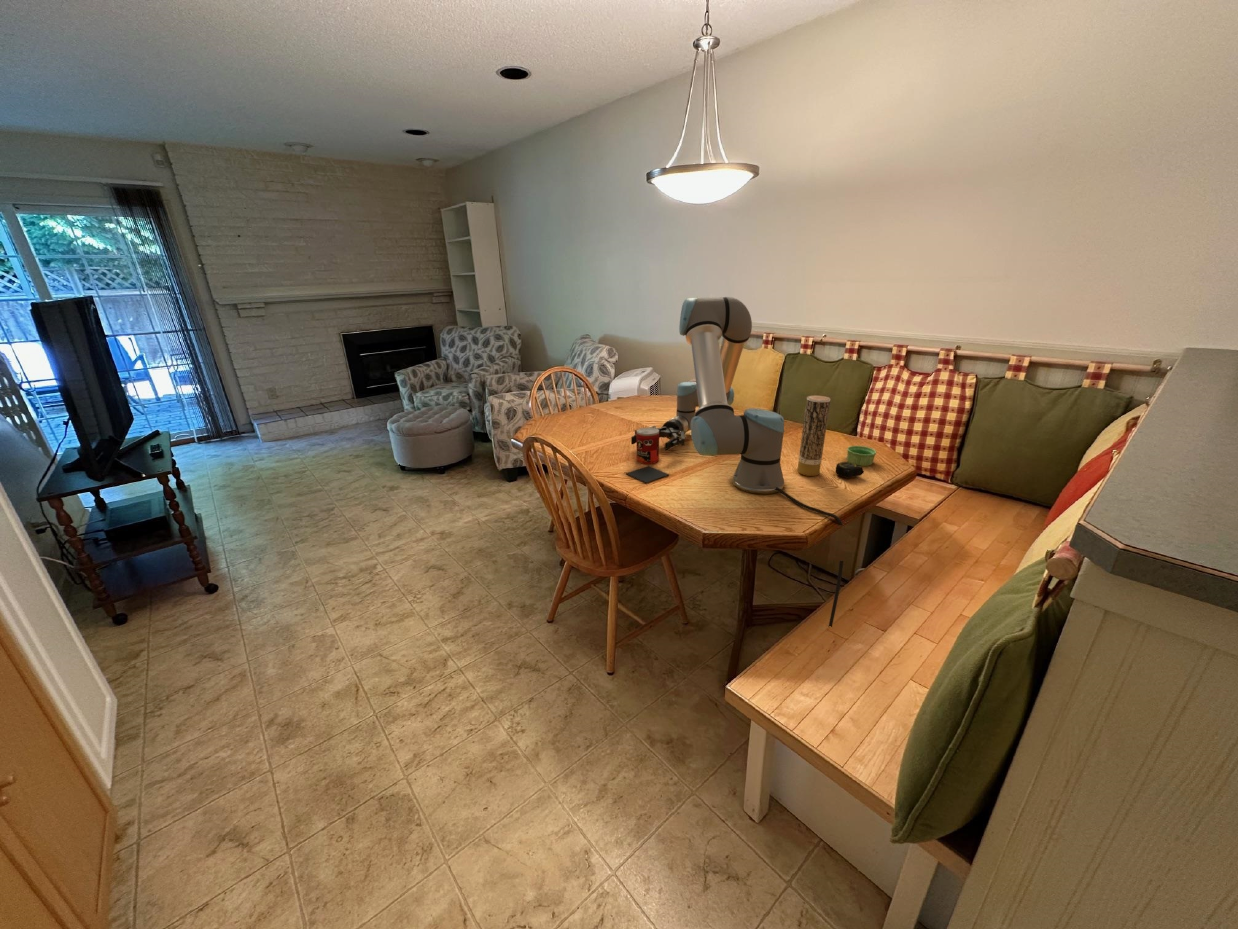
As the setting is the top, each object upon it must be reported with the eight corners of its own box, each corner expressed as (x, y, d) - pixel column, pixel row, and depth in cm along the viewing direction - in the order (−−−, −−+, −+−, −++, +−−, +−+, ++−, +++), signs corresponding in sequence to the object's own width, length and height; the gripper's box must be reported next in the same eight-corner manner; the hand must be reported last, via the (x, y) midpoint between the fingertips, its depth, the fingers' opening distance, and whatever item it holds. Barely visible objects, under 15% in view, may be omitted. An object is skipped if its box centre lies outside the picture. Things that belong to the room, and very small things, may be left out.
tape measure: (846, 481, 149) (848, 470, 148) (829, 473, 155) (831, 463, 154) (862, 478, 152) (865, 467, 150) (846, 470, 158) (848, 459, 156)
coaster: (669, 475, 156) (669, 474, 156) (646, 483, 150) (646, 482, 150) (648, 466, 163) (648, 465, 163) (626, 474, 158) (626, 473, 158)
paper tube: (815, 469, 159) (826, 395, 150) (821, 477, 153) (833, 400, 144) (794, 468, 160) (804, 395, 151) (800, 476, 153) (810, 400, 144)
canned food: (632, 460, 170) (631, 430, 166) (648, 454, 175) (648, 425, 170) (646, 465, 164) (647, 435, 160) (663, 460, 169) (663, 430, 165)
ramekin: (850, 466, 161) (852, 454, 159) (841, 457, 169) (843, 445, 168) (878, 467, 160) (880, 454, 158) (868, 457, 168) (870, 445, 167)
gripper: (704, 442, 180) (680, 459, 163) (646, 432, 192) (618, 448, 175) (705, 423, 177) (681, 439, 160) (646, 414, 189) (618, 428, 173)
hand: (648, 443), depth 168 cm, fingers open, 13 cm apart
